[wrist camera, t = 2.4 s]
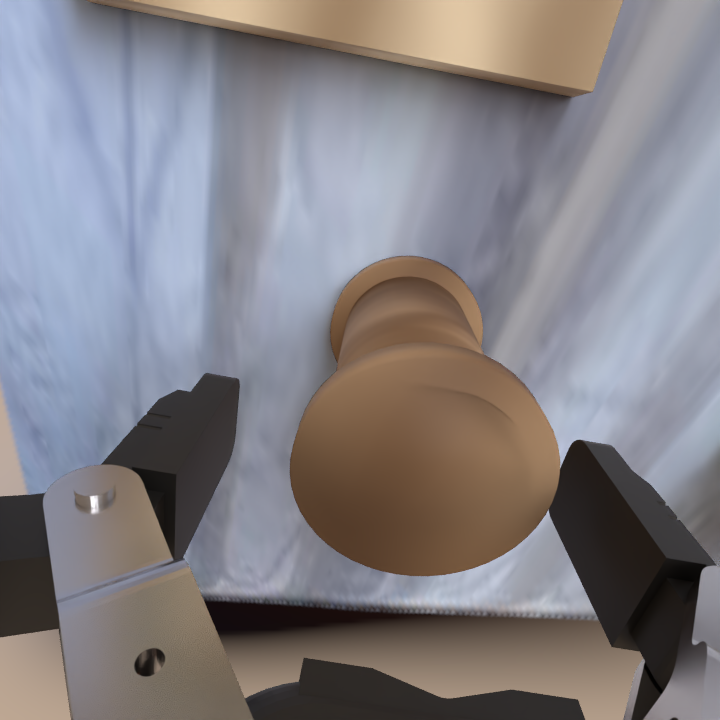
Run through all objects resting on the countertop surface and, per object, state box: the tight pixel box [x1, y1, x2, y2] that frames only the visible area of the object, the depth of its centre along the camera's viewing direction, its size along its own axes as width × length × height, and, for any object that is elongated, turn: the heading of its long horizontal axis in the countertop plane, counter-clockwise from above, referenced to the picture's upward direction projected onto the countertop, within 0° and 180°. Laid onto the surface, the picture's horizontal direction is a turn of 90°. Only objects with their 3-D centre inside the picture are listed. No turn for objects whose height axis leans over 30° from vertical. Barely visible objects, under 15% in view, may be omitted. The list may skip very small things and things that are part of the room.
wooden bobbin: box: [290, 256, 560, 576], centre depth 14 cm, size 6×6×9 cm
